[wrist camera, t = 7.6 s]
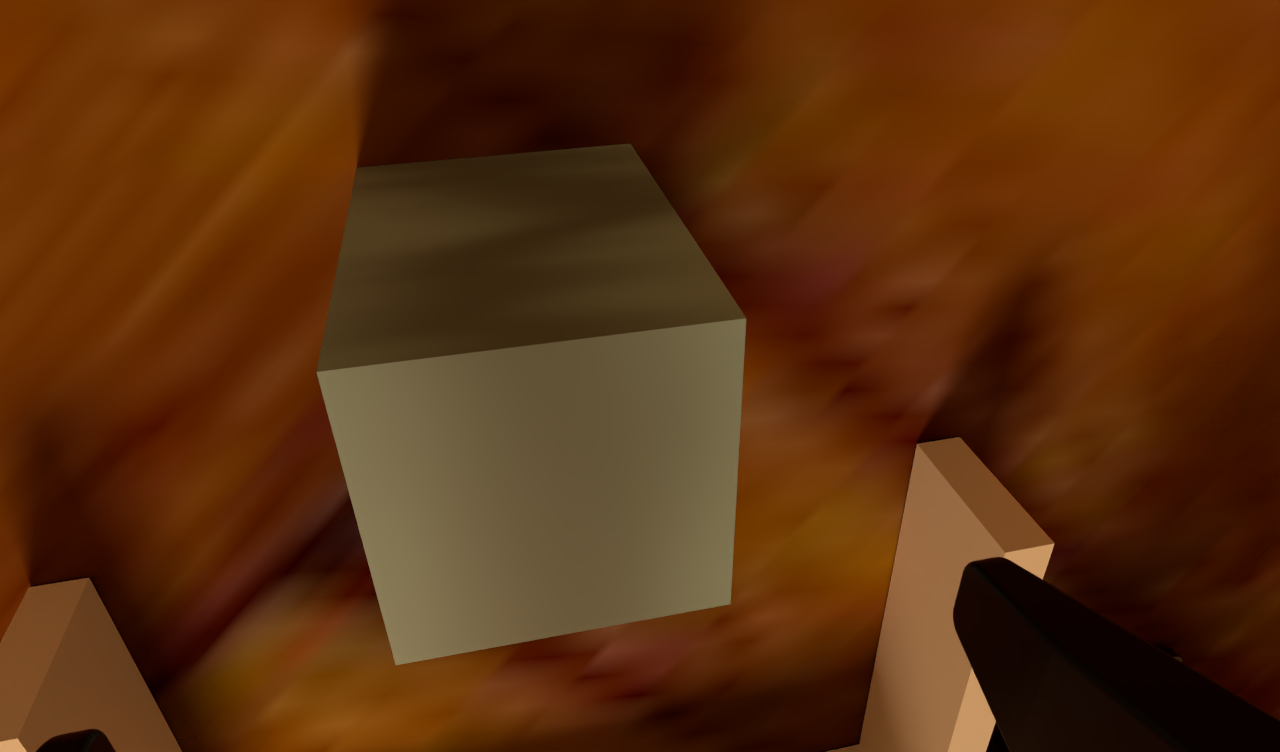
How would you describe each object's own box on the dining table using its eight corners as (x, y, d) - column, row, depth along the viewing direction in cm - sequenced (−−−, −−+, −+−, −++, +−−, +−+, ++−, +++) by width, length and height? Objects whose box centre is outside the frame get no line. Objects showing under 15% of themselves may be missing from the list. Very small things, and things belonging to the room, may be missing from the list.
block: (629, 143, 16) (746, 318, 10) (636, 366, 19) (730, 603, 13) (357, 166, 15) (316, 372, 9) (404, 397, 18) (396, 665, 12)
